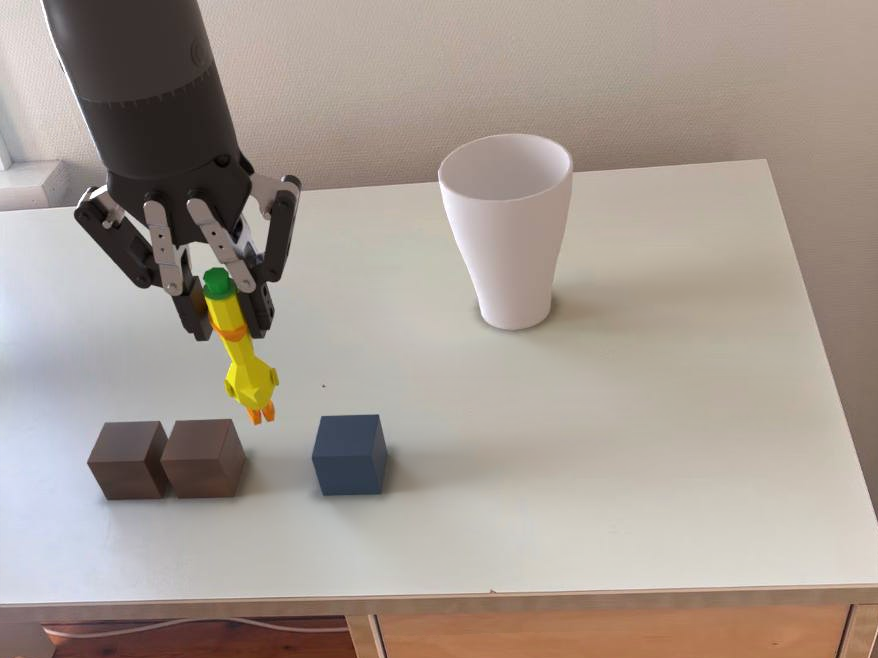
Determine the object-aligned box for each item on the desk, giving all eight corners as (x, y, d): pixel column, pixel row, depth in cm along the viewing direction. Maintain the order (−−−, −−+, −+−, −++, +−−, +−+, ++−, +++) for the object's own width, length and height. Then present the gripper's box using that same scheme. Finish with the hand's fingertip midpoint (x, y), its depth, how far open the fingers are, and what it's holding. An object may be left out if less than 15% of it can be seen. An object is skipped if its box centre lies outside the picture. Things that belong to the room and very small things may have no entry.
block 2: (179, 502, 74) (159, 461, 70) (193, 461, 76) (175, 419, 73) (235, 501, 73) (218, 459, 70) (247, 460, 76) (231, 418, 73)
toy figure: (231, 390, 71) (179, 245, 62) (278, 378, 72) (235, 232, 62) (244, 449, 67) (191, 302, 58) (295, 436, 67) (250, 288, 58)
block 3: (323, 499, 72) (310, 457, 69) (332, 458, 75) (320, 415, 72) (381, 498, 72) (371, 455, 69) (388, 456, 75) (379, 413, 71)
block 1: (109, 504, 74) (86, 462, 71) (125, 463, 77) (104, 422, 74) (164, 502, 74) (143, 461, 70) (179, 462, 76) (160, 420, 73)
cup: (469, 360, 81) (451, 213, 71) (446, 290, 88) (427, 147, 78) (590, 335, 82) (589, 186, 72) (558, 268, 89) (553, 123, 79)
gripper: (284, 23, 52) (346, 294, 65) (37, 41, 54) (146, 303, 67) (256, 86, 48) (329, 365, 61) (-14, 104, 49) (114, 373, 62)
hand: (233, 331), depth 64 cm, fingers closed on toy figure, 3 cm apart
